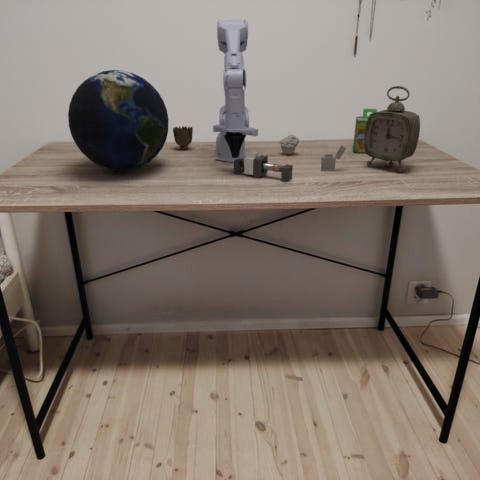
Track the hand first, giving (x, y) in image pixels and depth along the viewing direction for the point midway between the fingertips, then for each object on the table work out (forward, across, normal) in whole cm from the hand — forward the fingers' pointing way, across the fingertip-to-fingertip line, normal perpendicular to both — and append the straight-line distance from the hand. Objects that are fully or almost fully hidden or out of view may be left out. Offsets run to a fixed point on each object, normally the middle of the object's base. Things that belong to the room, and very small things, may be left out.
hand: (235, 157), depth 136 cm
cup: (+5, -32, +17) cm, 36 cm away
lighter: (+5, +26, +16) cm, 31 cm away
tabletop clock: (+5, +41, +27) cm, 50 cm away
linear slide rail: (+5, +9, 0) cm, 10 cm away
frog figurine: (+5, +6, +28) cm, 29 cm away
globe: (+5, -34, -13) cm, 36 cm away
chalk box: (+5, +29, +46) cm, 55 cm away
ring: (+5, +9, 0) cm, 10 cm away
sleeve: (+5, +6, 0) cm, 8 cm away
